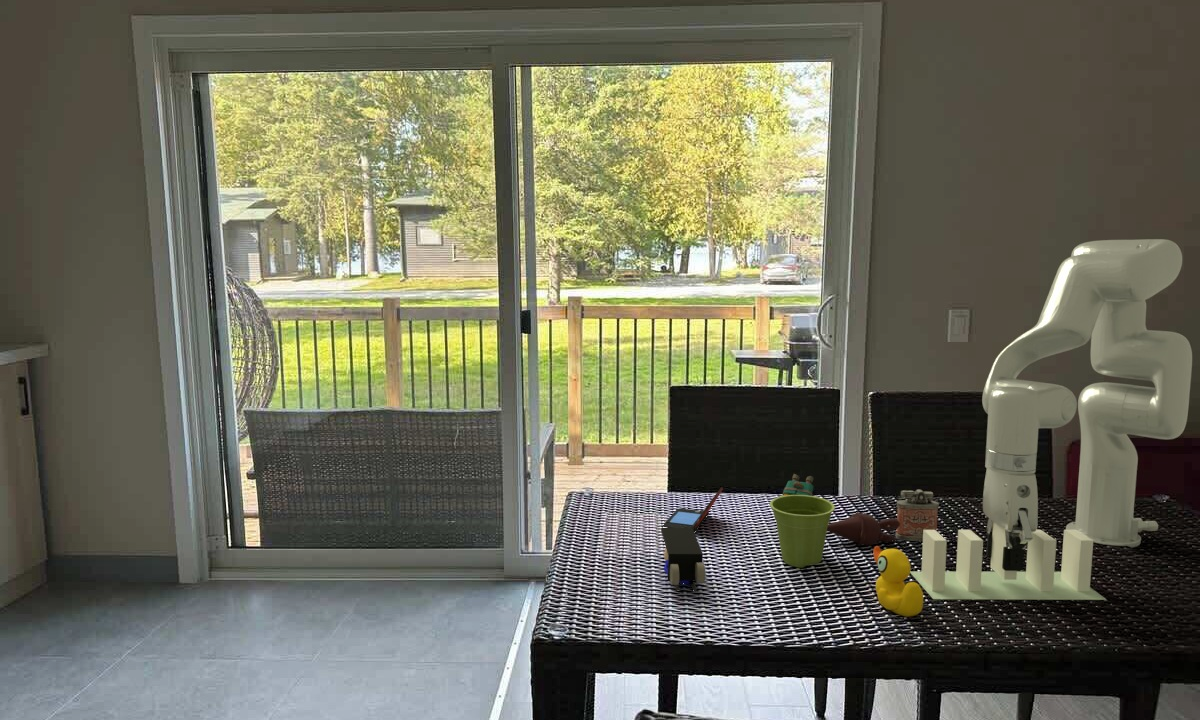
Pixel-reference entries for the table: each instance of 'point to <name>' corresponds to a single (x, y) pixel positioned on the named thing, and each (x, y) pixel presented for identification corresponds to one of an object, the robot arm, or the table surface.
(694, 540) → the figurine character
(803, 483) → the binoculars
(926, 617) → the table surface
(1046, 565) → the domino
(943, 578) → the domino
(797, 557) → the plant pot
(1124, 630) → the table surface
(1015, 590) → the board
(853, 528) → the icecream
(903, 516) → the lighter
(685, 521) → the handheld game console
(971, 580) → the domino
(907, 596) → the duckling
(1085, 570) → the domino
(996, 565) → the domino
